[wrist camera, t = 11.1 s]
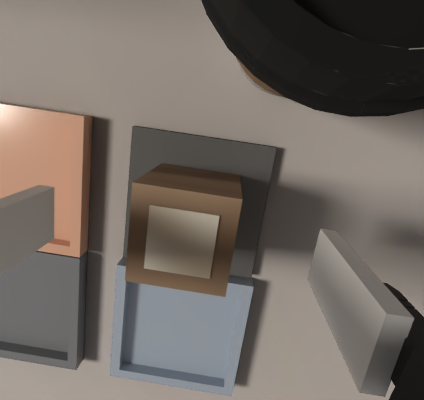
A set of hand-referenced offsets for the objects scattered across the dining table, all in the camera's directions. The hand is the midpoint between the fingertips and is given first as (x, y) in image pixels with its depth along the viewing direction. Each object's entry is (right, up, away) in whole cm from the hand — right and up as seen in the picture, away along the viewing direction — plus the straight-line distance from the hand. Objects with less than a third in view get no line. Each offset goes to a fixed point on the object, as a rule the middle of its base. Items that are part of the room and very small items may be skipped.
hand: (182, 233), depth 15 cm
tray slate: (-1, -8, +8) cm, 11 cm away
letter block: (0, +1, +5) cm, 5 cm away
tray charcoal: (-13, -6, +9) cm, 16 cm away
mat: (0, +1, +6) cm, 6 cm away
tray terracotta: (-12, +3, +6) cm, 13 cm away
